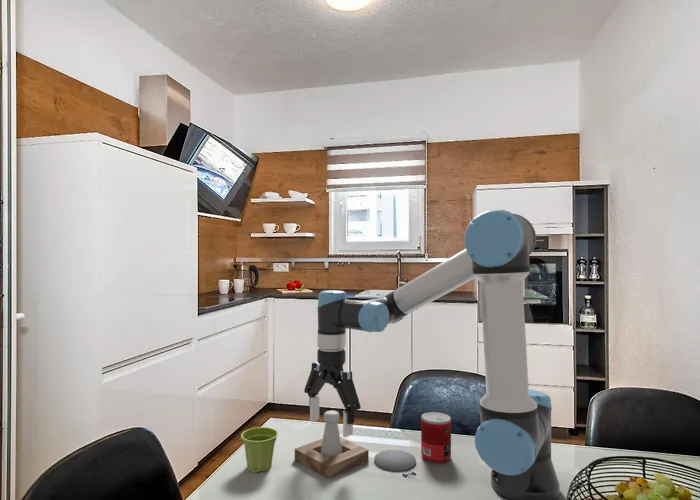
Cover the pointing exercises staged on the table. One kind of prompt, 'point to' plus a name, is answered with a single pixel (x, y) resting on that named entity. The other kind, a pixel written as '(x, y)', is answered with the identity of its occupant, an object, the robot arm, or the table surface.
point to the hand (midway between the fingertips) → (330, 427)
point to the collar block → (334, 465)
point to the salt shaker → (331, 435)
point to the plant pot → (259, 447)
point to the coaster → (395, 460)
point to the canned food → (436, 437)
